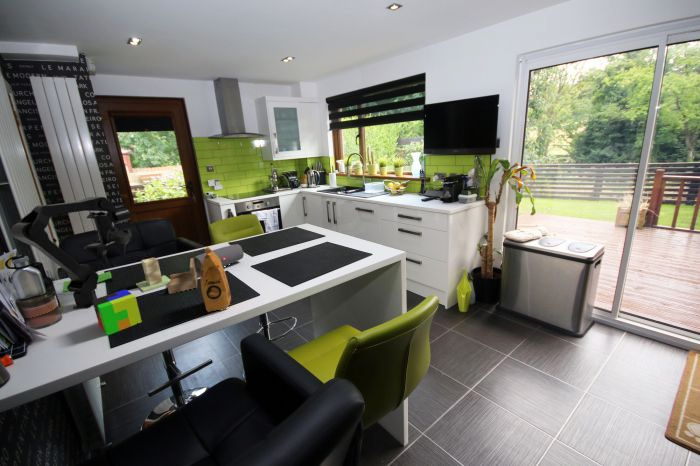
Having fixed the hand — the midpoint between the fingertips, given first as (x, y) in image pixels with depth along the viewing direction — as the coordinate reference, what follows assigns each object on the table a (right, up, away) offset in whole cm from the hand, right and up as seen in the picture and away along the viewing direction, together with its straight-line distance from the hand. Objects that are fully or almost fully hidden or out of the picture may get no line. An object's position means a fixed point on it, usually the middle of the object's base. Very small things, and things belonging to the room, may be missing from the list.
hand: (115, 261), depth 137 cm
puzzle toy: (+21, -20, -26) cm, 39 cm away
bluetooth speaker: (+36, -6, +23) cm, 44 cm away
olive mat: (+13, -11, +7) cm, 18 cm away
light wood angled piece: (+28, -11, +4) cm, 30 cm away
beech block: (+13, -10, +7) cm, 18 cm away
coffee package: (+51, -16, -16) cm, 56 cm away
